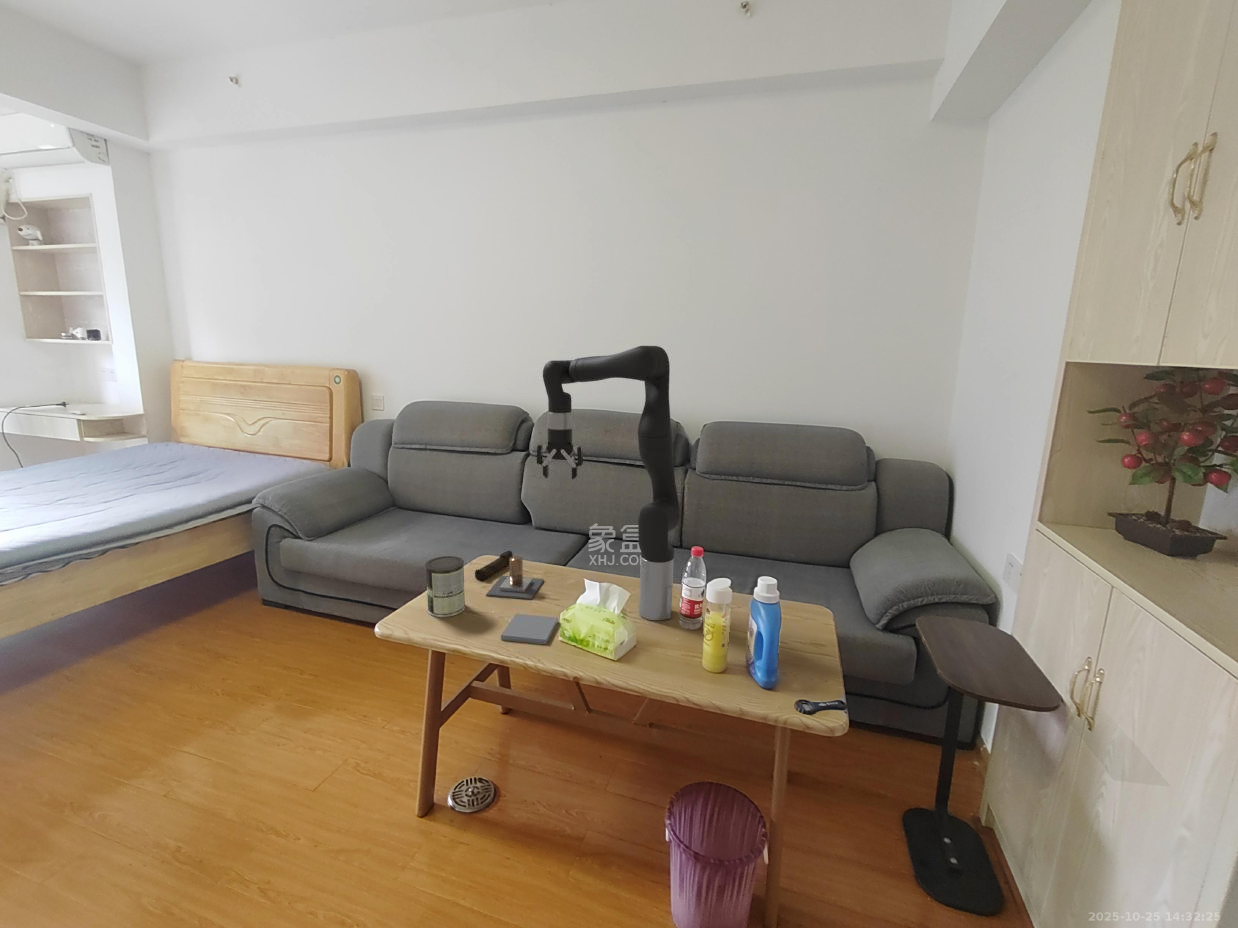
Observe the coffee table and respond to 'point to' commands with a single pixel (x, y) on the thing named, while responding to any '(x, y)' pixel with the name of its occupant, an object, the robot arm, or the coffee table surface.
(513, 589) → the brown post on base
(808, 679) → the coffee table surface
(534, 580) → the rest mat
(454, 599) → the coffee can
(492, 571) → the dark brown bar
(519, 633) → the tile
